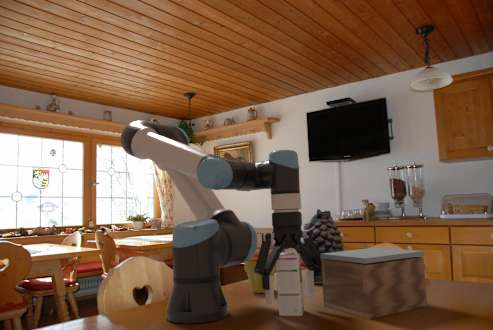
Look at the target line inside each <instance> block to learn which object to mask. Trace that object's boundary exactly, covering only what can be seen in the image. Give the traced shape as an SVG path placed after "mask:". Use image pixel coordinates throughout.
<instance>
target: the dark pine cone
mask: <svg viewBox="0 0 493 330" xmlns="http://www.w3.org/2000/svg"><path fill="white" fill-rule="evenodd" d="M313 215H314V216H312V217H310V220H309V221H308V223H304V226H303V231H304V230H311V231H312V237H313V241H314V244H315V247H316V249H317V252H318V255H319V257H320V254H323V253H332V252H341V251H346V250H345V249H344V246H345V244H344V243H343V242H342V241H343V236H341V234H342V232H341V231H340V230H339V226H338V223H336V222H335V221H334V219H333V217H332V213H331V211H330V210H324V211H322V209H319V208H318V209H316V214H313ZM301 242H302V243H303V245H304V248H305V250H306V251H307V248H306V246H305V243H304V240H303V239H302V240H301ZM307 253H308V251H307ZM321 259H322V258H321V257H320V260H321ZM305 270H308V268H307V267H306V265H305V264H304V271H305ZM315 284H323V281H322V266H321V267H318V270H316V283H315Z"/></svg>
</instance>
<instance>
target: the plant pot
mask: <svg viewBox="0 0 493 330" xmlns="http://www.w3.org/2000/svg"><path fill="white" fill-rule="evenodd" d="M257 259H258V257H257V258H256V257H255V258H251V259H250V260H248V261H246V262H244V263H243V264H244V272H245V273H246V274H247V278H248V282H249V287H250V290H251V292H252V293H254V294H265V290H264V289H263V287H262V276H261V275H260V274H257V273H255V272H254V269H255V266H256V262H257ZM267 259H268V258H267ZM275 274H276V264H275V266H274V268H273V270H272V272H271V274H270V276H273V284H275V283H274V282H275Z"/></svg>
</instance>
